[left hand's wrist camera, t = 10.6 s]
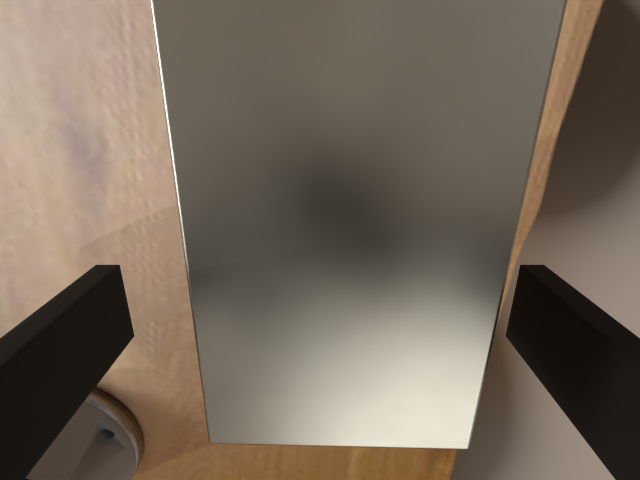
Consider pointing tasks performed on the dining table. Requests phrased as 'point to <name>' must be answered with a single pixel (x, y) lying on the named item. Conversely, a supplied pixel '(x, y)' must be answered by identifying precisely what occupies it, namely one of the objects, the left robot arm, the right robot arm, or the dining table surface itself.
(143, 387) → the dining table surface
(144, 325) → the dining table surface
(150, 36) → the dining table surface
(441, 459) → the dining table surface
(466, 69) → the box
